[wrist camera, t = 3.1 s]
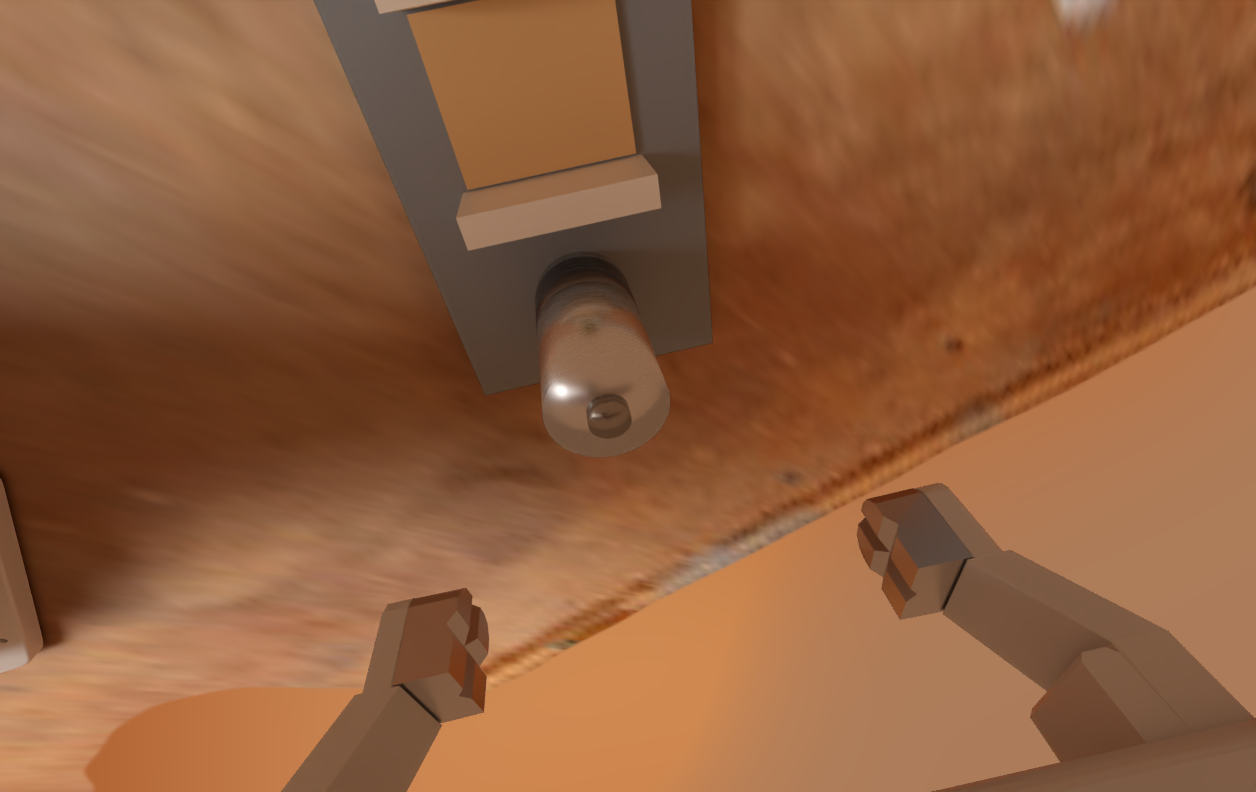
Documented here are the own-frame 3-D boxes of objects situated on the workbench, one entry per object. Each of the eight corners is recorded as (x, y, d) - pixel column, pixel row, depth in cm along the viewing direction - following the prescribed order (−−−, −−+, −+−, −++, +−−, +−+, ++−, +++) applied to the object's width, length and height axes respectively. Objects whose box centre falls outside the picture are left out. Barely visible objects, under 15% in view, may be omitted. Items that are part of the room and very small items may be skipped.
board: (706, 331, 23) (712, 342, 22) (486, 381, 23) (485, 395, 22) (631, -716, 9) (641, -781, 8) (60, -624, 9) (16, -685, 8)
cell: (616, 343, 21) (654, 473, 15) (528, 330, 20) (532, 466, 14) (639, 260, 19) (693, 375, 13) (542, 242, 18) (555, 358, 12)
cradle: (645, 184, 18) (661, 208, 16) (473, 222, 17) (468, 251, 15) (609, -82, 13) (626, -97, 11) (381, -37, 13) (357, -43, 11)
